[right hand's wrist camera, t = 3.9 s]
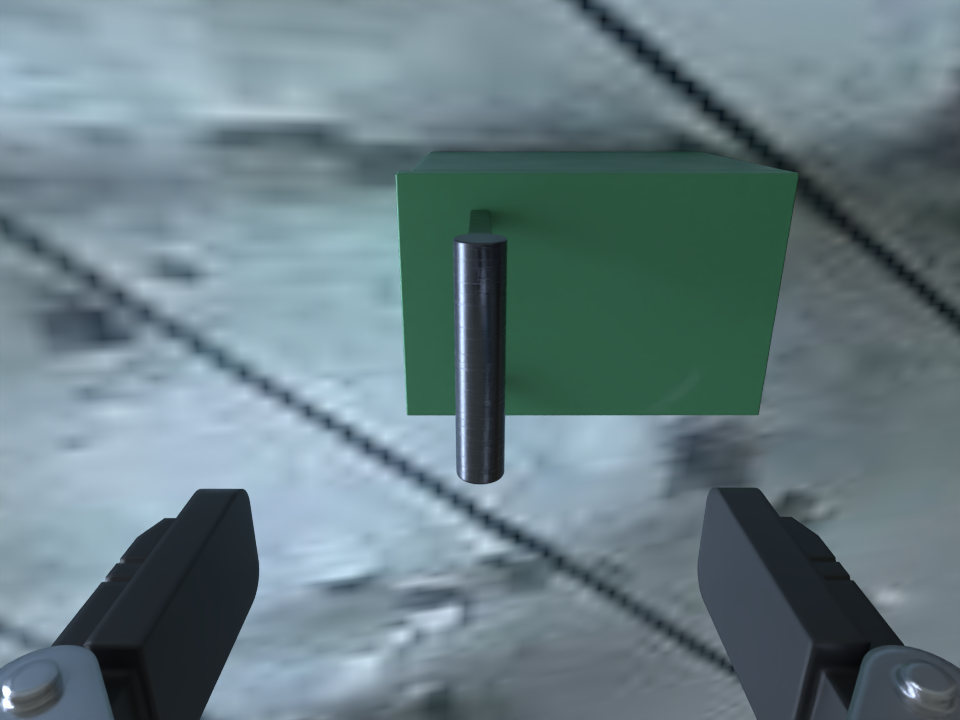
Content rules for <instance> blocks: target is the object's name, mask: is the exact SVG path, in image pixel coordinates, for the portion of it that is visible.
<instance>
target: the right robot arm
mask: <svg viewBox="0 0 960 720" xmlns="http://www.w3.org/2000/svg"><path fill="white" fill-rule="evenodd" d="M105 578H106V580H105V582H102V583H101V584H100V585H99V586H98V588H97V589H96V590H95V591H94V593H93V594H92V595H91V596H90V598H89V599H88V600H87V601H86V603H85V604H84V605H83V607H82V608H81V609H80V610H79V612H78V613H77V614H76V615H75V617H74V618H73V619H72V620H71V622H70V623H69V624H68V625H67V627H66V628H65V629H64V631H63V632H62V633H61V634H60V636H59V637H58V638H57V639H56V641H55V642H54V643H53V644H52V646H51V647H48V648H44V649H40V650H37V651H34V652H31V653H28V654H26V655H24V656H22V657H19V658H17V659H16V660H14V661H12V662H10V663H8V664H7V665H5V666H4V667H2V668H1V669H0V720H200V718H201V715H202V713H203V711H204V709H205V707H206V704H207V702H208V700H209V698H210V696H211V693H212V691H213V689H214V687H215V685H216V682H217V680H218V678H219V676H220V674H221V671H222V669H223V667H224V665H225V663H226V660H227V658H228V656H229V654H230V652H231V649H232V647H233V645H234V643H235V641H236V639H237V636H238V634H239V632H240V630H241V628H242V625H243V623H244V621H245V619H246V617H247V614H248V612H249V610H250V608H251V606H252V603H253V601H254V599H255V595H256V592H257V587H258V580H259V560H258V554H257V547H256V540H255V533H254V527H253V520H252V513H251V506H250V500H249V496H248V494H247V492H246V491H245V490H244V489H199V490H197V491H196V492H195V493H194V494H193V496H192V497H191V499H190V500H189V501H188V503H187V504H186V505H185V507H184V508H183V509H182V511H181V512H180V513H179V515H178V516H177V518H164V519H163V520H161V521H160V522H158V523H157V524H156V525H154V526H153V527H151V528H150V529H148V530H147V531H145V532H144V533H143V534H141V535H140V536H138V537H137V538H136V540H135V541H134V542H133V543H132V545H131V546H130V547H129V548H128V550H127V551H126V552H125V553H124V555H123V556H122V557H121V558H120V563H117V564H116V565H115V566H114V567H113V569H112V570H111V571H110V572H109V574H108V575H107V576H106V577H105ZM698 581H699V587H700V592H701V595H702V598H703V601H704V603H705V605H706V607H707V610H708V612H709V614H710V616H711V618H712V621H713V623H714V625H715V627H716V630H717V632H718V634H719V636H720V638H721V641H722V643H723V645H724V647H725V650H726V652H727V654H728V656H729V658H730V661H731V663H732V665H733V667H734V670H735V672H736V674H737V676H738V678H739V681H740V683H741V685H742V687H743V690H744V692H745V694H746V696H747V698H748V701H749V703H750V705H751V707H752V710H753V712H754V714H755V716H756V718H757V720H960V669H959V668H958V667H956V666H955V665H953V664H952V663H950V662H948V661H946V660H944V659H943V658H941V657H938V656H936V655H934V654H932V653H929V652H926V651H923V650H920V649H916V648H912V647H908V646H904V644H903V643H902V642H901V640H900V639H899V638H898V637H897V635H896V634H895V633H894V632H893V630H892V629H891V628H890V626H889V625H888V624H887V623H886V621H885V620H884V619H883V617H882V616H881V615H880V614H879V612H878V611H877V610H876V609H875V607H874V606H873V605H872V603H871V602H870V601H869V600H868V598H867V597H866V596H865V595H864V593H863V592H862V591H861V589H860V588H859V587H858V586H857V584H856V583H855V582H854V581H851V580H850V575H849V574H848V573H847V572H846V570H845V569H844V568H843V566H842V565H841V564H840V563H839V562H836V560H835V556H834V555H833V554H832V552H831V551H830V550H829V549H828V547H827V546H826V545H825V543H824V542H823V541H822V540H821V538H820V537H819V536H818V535H817V534H815V533H814V532H812V531H811V530H809V529H808V528H807V527H805V526H804V525H802V524H801V523H799V522H798V521H797V520H795V519H794V518H792V517H780V516H779V515H778V514H777V512H776V511H775V510H774V508H773V507H772V505H771V504H770V503H769V501H768V500H767V499H766V497H765V496H764V494H763V493H762V492H761V491H760V490H759V489H758V488H712V489H711V490H710V492H709V494H708V497H707V502H706V509H705V516H704V523H703V529H702V536H701V543H700V550H699V557H698Z"/></svg>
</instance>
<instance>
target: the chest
mask: <svg viewBox="0 0 960 720" xmlns="http://www.w3.org/2000/svg"><path fill="white" fill-rule="evenodd" d="M561 170H781V169H776V168H772V167H767V166H763V165H758V164H754V163H749V162H744V161H740V160H735V159H731V158H726V157H722V156H717V155H713V154H708V153H703V152H699V151H668V152H431V153H429V154H428V155H427V156H426V157H425V158H424V159H423V160H422V161H421V162H420V163H419V164H418V165H417V166H416V167H415V168H414V169H413V170H412V171H561Z"/></svg>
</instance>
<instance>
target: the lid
mask: <svg viewBox="0 0 960 720" xmlns="http://www.w3.org/2000/svg"><path fill="white" fill-rule="evenodd" d="M798 177H799V174H798V173H795V172H791V171H786V170H561V171H399V172H398V173H397V174H396V196H397V218H398V239H399V261H400V283H401V305H402V326H403V348H404V370H405V392H406V413H407V415H456V467H457V474H458V476H459V477H460V478H461V479H462V480H463V481H466V482H468V483H472V484H488V483H492V482H495V481H497V480H499V479H500V478H501V477H502V476H503V474H504V448H505V415H758V414H759V409H760V403H761V397H762V391H763V385H764V379H765V373H766V367H767V361H768V355H769V349H770V343H771V337H772V331H773V326H774V320H775V314H776V308H777V302H778V296H779V290H780V284H781V278H782V272H783V266H784V260H785V254H786V248H787V242H788V237H789V231H790V225H791V219H792V213H793V207H794V201H795V195H796V189H797V183H798Z"/></svg>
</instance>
